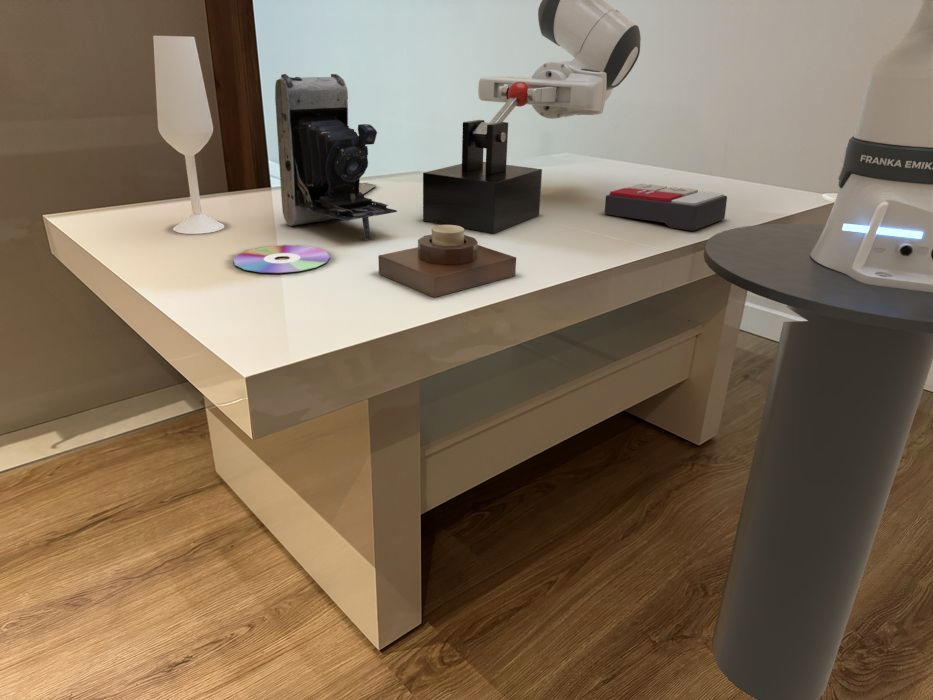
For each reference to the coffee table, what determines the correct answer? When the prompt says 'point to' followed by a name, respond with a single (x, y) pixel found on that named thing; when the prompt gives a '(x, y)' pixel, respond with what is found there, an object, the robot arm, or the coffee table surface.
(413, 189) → the coffee table surface
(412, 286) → the block
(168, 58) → the champagne flute
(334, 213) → the vintage camera
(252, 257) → the cd
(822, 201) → the coffee table surface
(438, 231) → the timer button
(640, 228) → the coffee table surface
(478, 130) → the red-knobbed metal lever
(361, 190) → the map
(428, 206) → the lever stand
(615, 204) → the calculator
